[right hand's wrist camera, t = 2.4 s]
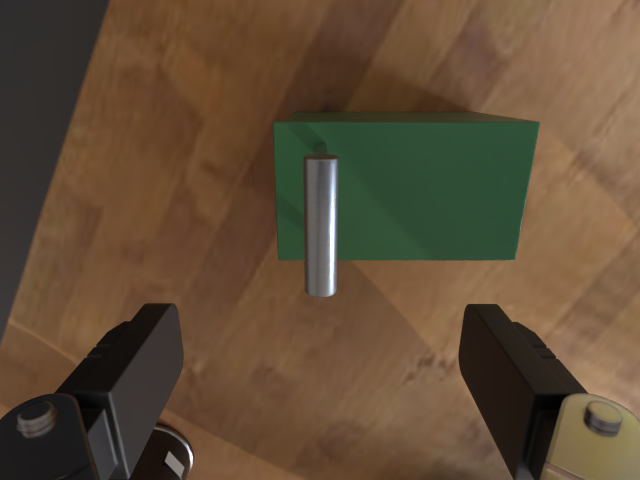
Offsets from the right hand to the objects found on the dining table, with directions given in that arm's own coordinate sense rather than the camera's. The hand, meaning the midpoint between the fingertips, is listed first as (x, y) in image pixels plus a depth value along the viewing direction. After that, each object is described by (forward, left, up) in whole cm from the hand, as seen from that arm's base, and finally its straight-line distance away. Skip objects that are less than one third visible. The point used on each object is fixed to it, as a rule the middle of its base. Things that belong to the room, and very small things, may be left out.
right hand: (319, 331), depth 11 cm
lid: (+1, -5, -17) cm, 18 cm away
